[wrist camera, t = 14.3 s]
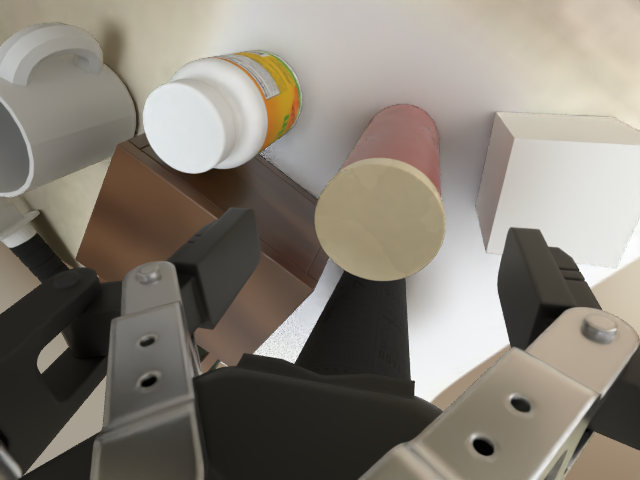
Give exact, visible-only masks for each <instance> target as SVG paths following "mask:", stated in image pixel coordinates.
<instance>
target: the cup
mask: <svg viewBox="0 0 640 480" xmlns="http://www.w3.org/2000/svg"><path fill="white" fill-rule="evenodd" d="M135 128H136V111H135V107H134V104H133V100H132V98H131V96H130V94H129V92H128V89H127V87H126V86H125V85H124V83H123V82H122V81H121V79H120V78H119V77H118V75H116V74H115V73H114V72H113V71H112V70H111V69H110V68H109V67H108V66H107V65H105V64H104V63H103V52H102V50H101V48H100V46H99V44H98V43H97V41H96V39H95V38H94V36H93V35H92V34H91V33H89V32H88V31H86V30H85V29H83V28H79V27H75V26H72V25H67V24H63V23H42V24H37V25H33V26H29V27H26V28H24V29H22V30H20V31H18V32H16V33H14V34H13V35H12V36H11V37H10V38H9V39H8V40H7V41H6V42H5V43H4V44H3V45H1V48H0V196H1V197H13V196H16V195H20V194H23V193H25V192H27V191H30V190H32V189H35V188H37V187H39V186H42V185H44V184H47V183H49V182H52V181H54V180H56V179H59V178H61V177H64V176H66V175H68V174H71V173H73V172H76V171H78V170H80V169H83V168H85V167H88V166H90V165H93V164H95V163H97V162H100V161H102V160H105V159H107V158H109V157H112V156H113V154H114V151H115V148H116V146H117V144H119V143H121V142H124V141H127V140H128V139H131V138H133V137H134V133H135Z"/></svg>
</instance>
